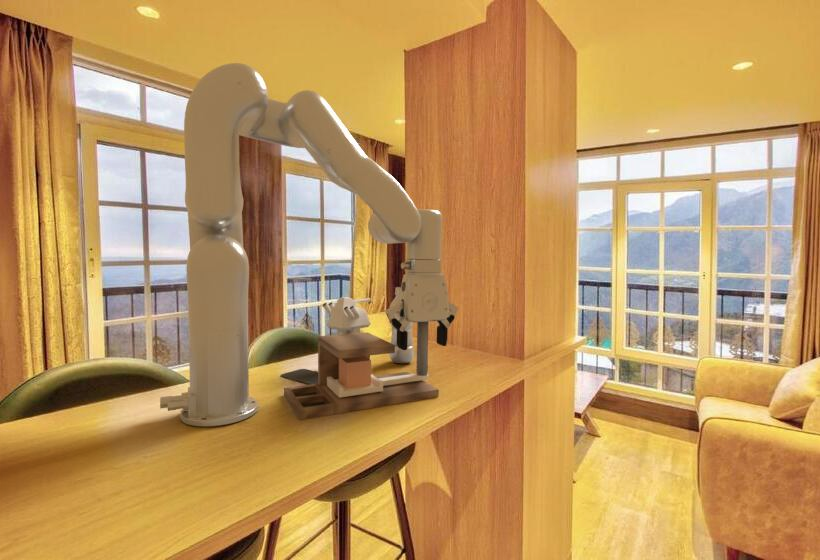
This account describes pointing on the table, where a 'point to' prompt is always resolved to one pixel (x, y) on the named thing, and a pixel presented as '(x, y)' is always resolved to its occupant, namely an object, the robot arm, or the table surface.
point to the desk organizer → (319, 396)
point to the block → (355, 372)
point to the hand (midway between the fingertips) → (422, 346)
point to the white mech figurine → (347, 315)
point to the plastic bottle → (399, 354)
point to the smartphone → (302, 376)
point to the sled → (379, 383)
